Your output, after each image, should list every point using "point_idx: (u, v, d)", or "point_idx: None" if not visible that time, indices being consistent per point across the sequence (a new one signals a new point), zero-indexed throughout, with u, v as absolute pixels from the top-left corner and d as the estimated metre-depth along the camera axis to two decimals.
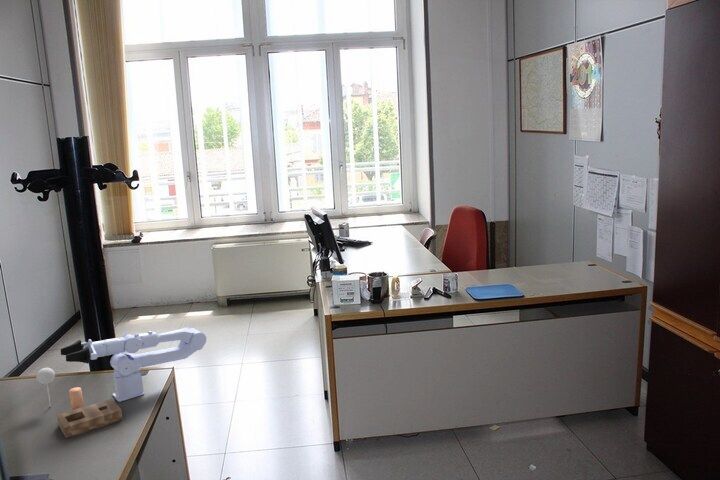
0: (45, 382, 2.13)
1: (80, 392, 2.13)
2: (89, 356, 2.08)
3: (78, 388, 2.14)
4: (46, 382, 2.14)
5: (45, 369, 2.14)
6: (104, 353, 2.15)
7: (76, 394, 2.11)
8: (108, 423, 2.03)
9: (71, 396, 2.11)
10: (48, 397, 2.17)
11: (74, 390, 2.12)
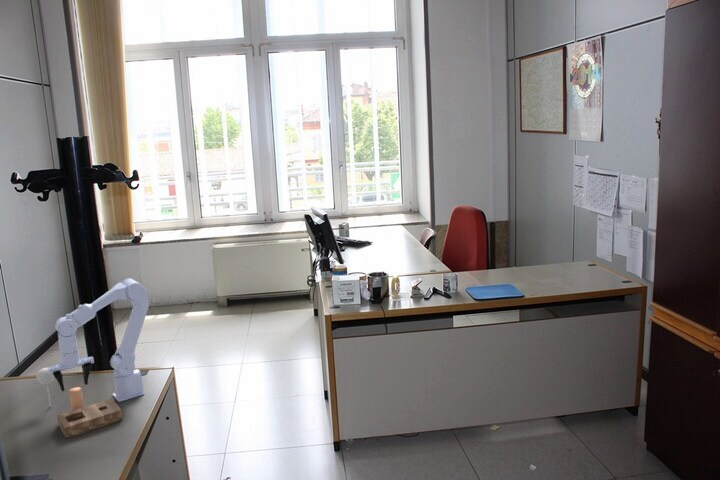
0: (45, 382, 2.13)
1: (80, 392, 2.13)
2: (52, 373, 2.07)
3: (78, 388, 2.14)
4: (46, 382, 2.14)
5: (45, 369, 2.14)
6: (62, 355, 2.07)
7: (76, 394, 2.11)
8: (108, 423, 2.03)
9: (71, 396, 2.11)
10: (48, 397, 2.17)
11: (74, 390, 2.12)
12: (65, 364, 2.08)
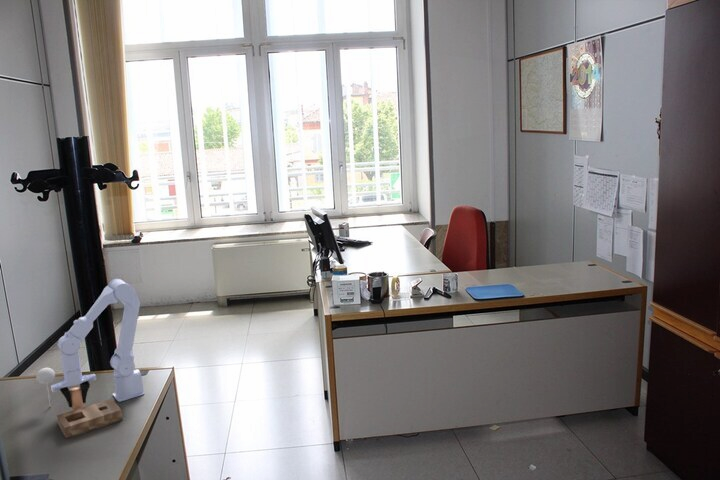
0: (45, 382, 2.13)
1: (80, 392, 2.13)
2: (60, 390, 2.10)
3: (78, 388, 2.14)
4: (46, 382, 2.14)
5: (45, 369, 2.14)
6: (65, 373, 2.09)
7: (76, 394, 2.11)
8: (108, 423, 2.03)
9: (71, 396, 2.11)
10: (48, 397, 2.17)
11: (74, 390, 2.12)
12: (68, 382, 2.09)
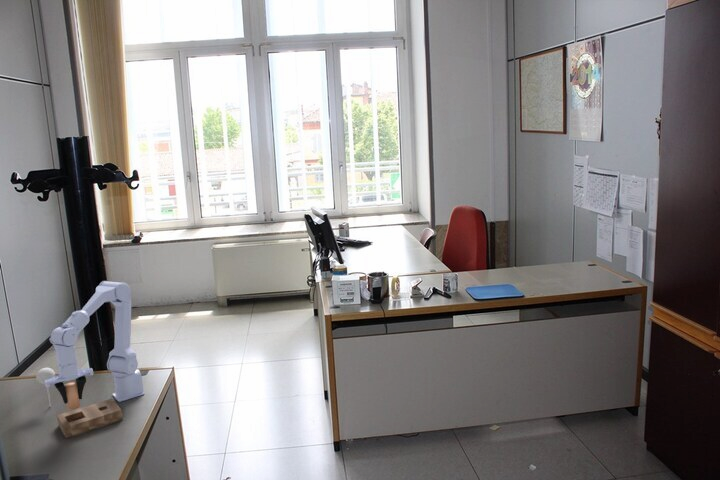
0: None
1: (76, 387, 2.00)
2: None
3: (74, 383, 2.01)
4: None
5: (45, 369, 2.14)
6: (60, 367, 1.96)
7: (71, 389, 1.99)
8: (108, 423, 2.03)
9: (66, 391, 1.99)
10: (48, 397, 2.17)
11: (69, 385, 2.00)
12: (63, 376, 1.97)
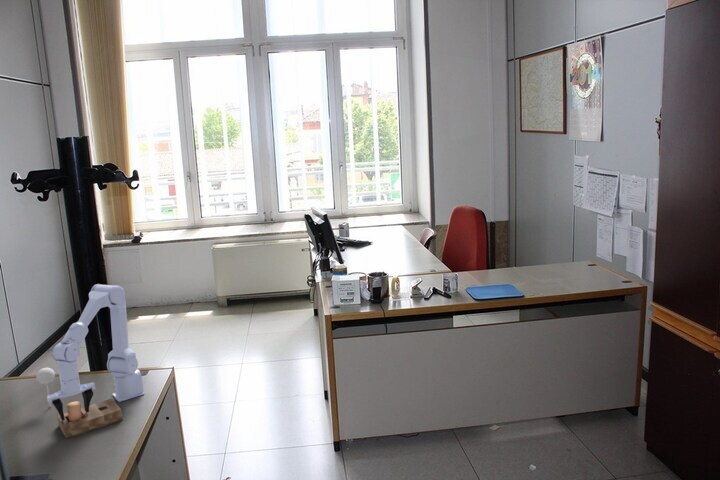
0: (45, 382, 2.13)
1: (79, 407, 2.01)
2: None
3: (77, 402, 2.02)
4: (46, 382, 2.14)
5: (45, 369, 2.14)
6: (62, 383, 1.96)
7: (74, 409, 1.99)
8: (108, 423, 2.03)
9: (69, 411, 1.99)
10: None
11: (72, 405, 2.00)
12: (65, 392, 1.97)
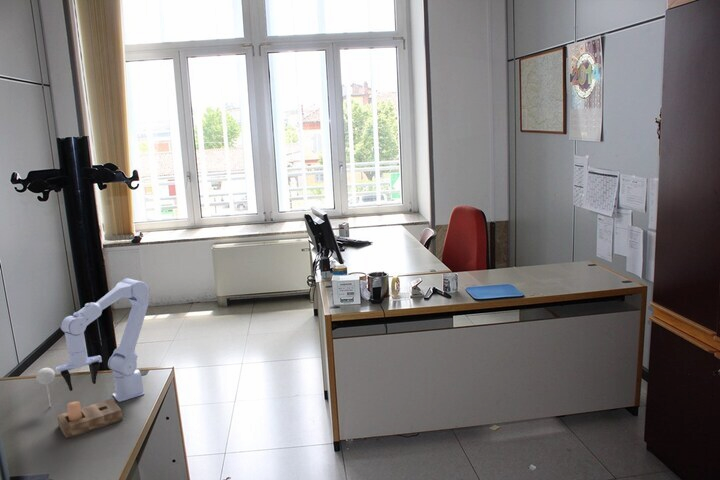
0: (45, 382, 2.13)
1: (79, 406, 2.01)
2: (60, 373, 2.05)
3: (77, 402, 2.02)
4: (46, 382, 2.14)
5: (45, 369, 2.14)
6: (70, 354, 2.05)
7: (74, 409, 1.99)
8: (108, 423, 2.03)
9: (69, 411, 1.99)
10: (48, 397, 2.17)
11: (72, 404, 2.00)
12: (73, 363, 2.05)
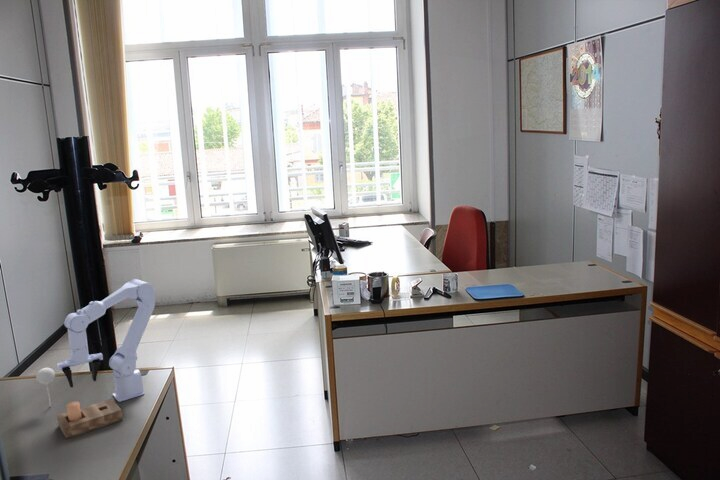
0: (45, 382, 2.13)
1: (78, 406, 2.00)
2: None
3: (76, 402, 2.01)
4: (46, 382, 2.14)
5: (45, 369, 2.14)
6: (71, 351, 2.07)
7: (74, 409, 1.99)
8: (108, 423, 2.03)
9: (69, 411, 1.99)
10: (48, 397, 2.17)
11: (72, 405, 2.00)
12: (74, 360, 2.07)
